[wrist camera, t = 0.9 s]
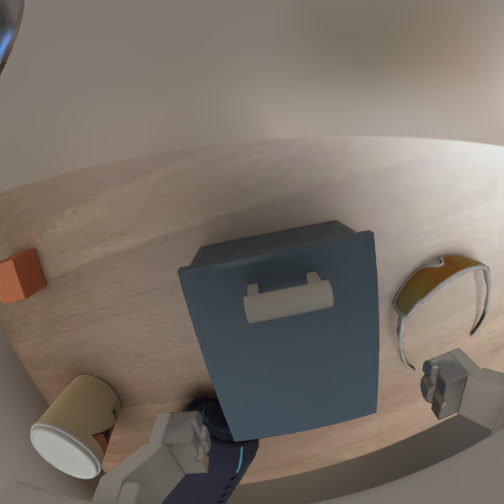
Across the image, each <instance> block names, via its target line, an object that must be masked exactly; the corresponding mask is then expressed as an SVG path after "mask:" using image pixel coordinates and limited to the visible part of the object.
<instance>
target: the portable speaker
mask: <svg viewBox="0 0 504 504" xmlns="http://www.w3.org/2000/svg"><path fill="white" fill-rule="evenodd" d="M188 411H199V412H201V415H202V417H203V423H202V424H204V425H205V426H207V428H208V430H209V434H210V440H211V448H210V451H209V452H208V453H207V455H208V457H209V466H208V473H196V474H185V476H184V477H183V478H182V479H181V481H180V482H179V483H178V484H177V485H176V487H175V488H174V489H173V490H172V491H171V492H170V494H169V495H168V496H167V497H166V498H165V499H164V501H163V502H162V504H227V503H228V501H229V500H230V498H231V496H232V495H233V493H234V492H235V490H236V488H237V486H238V485H239V483H240V481H241V480H242V478H243V476H244V475H245V473H246V471H247V469H248V468H249V466H250V464H251V462H252V461H253V459H254V457H255V455H256V452H257V449H258V447H259V439H252V440H244V441H234V439H233V436H232V434H231V431H230V429H229V426H228V423H227V421H226V418H225V416H224V413H223V410H222V408H221V405H220V402H219V400H218V398H212V397H201V398H195V399H194V400H193V401H191V402H190V403H188V404H187V405H186V406H185V407H184V408H183V410H182V412H188Z"/></svg>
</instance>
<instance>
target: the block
mask: <svg viewBox="0 0 504 504" xmlns="http://www.w3.org/2000/svg"><path fill="white" fill-rule="evenodd" d="M44 286H46V282H45V279H44V276H43V273H42V270H41V267H40V264H39V261H38V258H37V254H36V251H35V249H32V250H29V251H26V252H22V253H19V254H16V255H13V256H11V257H9V258H7V259H4V260H2V261H0V298H1V300H2V303H3V304H4V303H10V302H15V301H20V300H25V299H27V298H28V297H30V296H31V295H33V294H34V293H36V292H37V291H38V290H40V289H41V288H43V287H44Z"/></svg>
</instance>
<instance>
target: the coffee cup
mask: <svg viewBox="0 0 504 504" xmlns="http://www.w3.org/2000/svg"><path fill="white" fill-rule="evenodd" d="M119 410H120V400H119V398H118V396H117V394H116V393H115V391H114V390H113V389H112V388H111V387H110V386H109V385H108V384H106V383H105V382H104V381H102V380H100V379H98V378H96V377H94V376H90V375H79V376H77V377H75V378H74V379H73V380H72V381H71V382H70V384H69V385H68V386H67V387H66V388H65V389H64V390H63V392H62V393H61V394H60V395H59V396H58V397H57V398H56V400H55V401H54V402H53V403H52V404H51V406H50V407H49V408H48V409H47V410H46V412H45V413H44V414H43V415H42V417H41V418H40V419H39V420H38V422H36V423H35V424H34V425H33V426H32V428H31V441H32V443H33V445H34V447H35V449H36V450H37V451H38V452H39V454H40V455H41V456H42V457H43V458H44V459H46V460H47V461H48V462H49V463H50V464H52V465H53V466H55V467H56V468H58V469H59V470H61V471H63V472H65V473H67V474H69V475H71V476H74V477H78V478H82V479H90V478H93V477H95V476H96V475H97V474H99V473H100V471H101V467H102V465H101V464H102V461H103V459H104V455H105V452H106V449H107V446H108V443H109V440H110V437H111V434H112V431H113V428H114V425H115V422H116V420H117V417H118V413H119Z"/></svg>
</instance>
